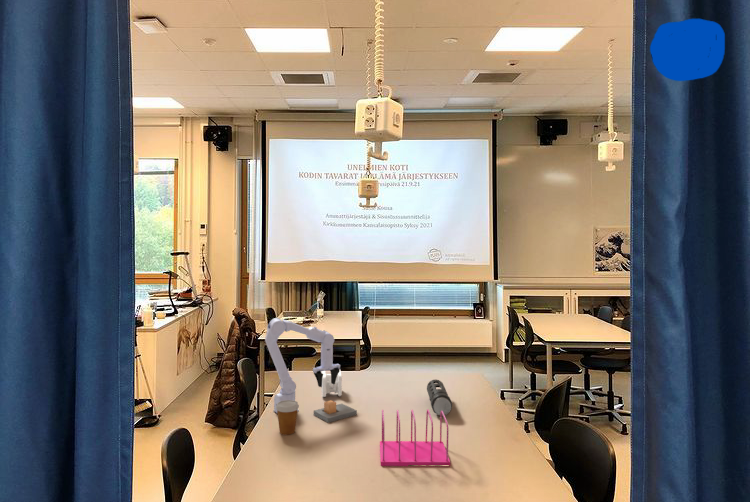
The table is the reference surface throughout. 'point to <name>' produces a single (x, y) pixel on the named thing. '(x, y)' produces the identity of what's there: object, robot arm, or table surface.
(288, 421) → the disposable coffee cup
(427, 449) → the file sorter
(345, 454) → the table surface
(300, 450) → the table surface
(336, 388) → the cable organizer
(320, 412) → the socket plate
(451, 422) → the table surface
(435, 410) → the perforated grey cylinder
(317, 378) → the robot arm
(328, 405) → the orange rectangular block
